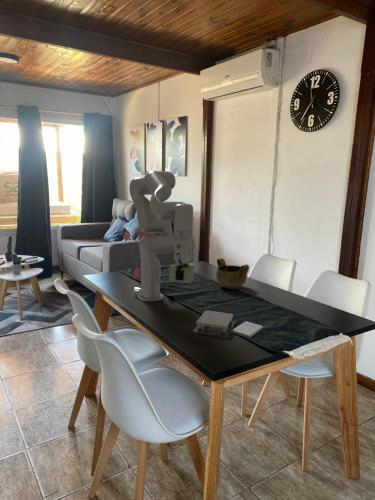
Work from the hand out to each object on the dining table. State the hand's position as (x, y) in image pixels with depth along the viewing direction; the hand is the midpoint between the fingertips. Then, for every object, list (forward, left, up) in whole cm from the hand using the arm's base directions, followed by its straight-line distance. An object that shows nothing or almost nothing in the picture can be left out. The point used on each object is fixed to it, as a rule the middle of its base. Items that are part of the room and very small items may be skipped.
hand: (181, 277), depth 152 cm
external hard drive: (+28, +1, -20) cm, 34 cm away
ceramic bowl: (+10, +56, -19) cm, 60 cm away
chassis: (+15, -1, -19) cm, 24 cm away
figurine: (-40, +54, -19) cm, 70 cm away
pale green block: (0, 0, -1) cm, 1 cm away
